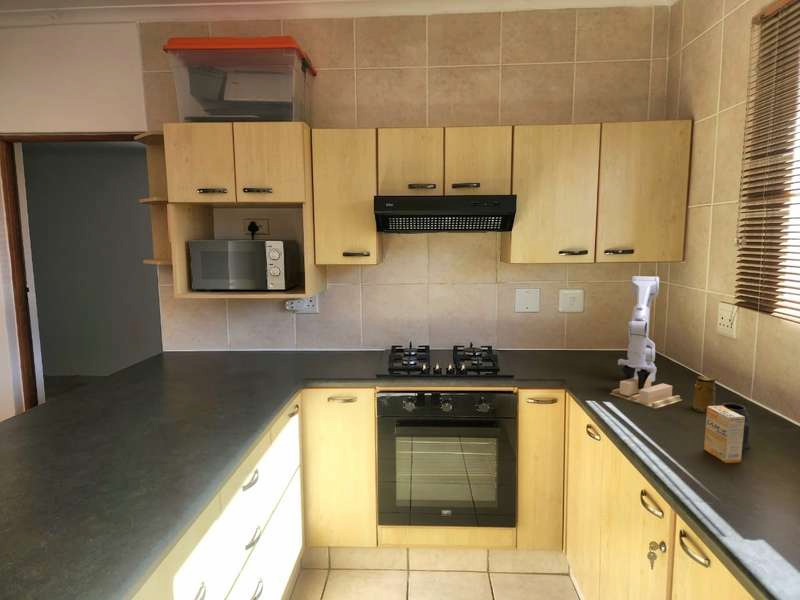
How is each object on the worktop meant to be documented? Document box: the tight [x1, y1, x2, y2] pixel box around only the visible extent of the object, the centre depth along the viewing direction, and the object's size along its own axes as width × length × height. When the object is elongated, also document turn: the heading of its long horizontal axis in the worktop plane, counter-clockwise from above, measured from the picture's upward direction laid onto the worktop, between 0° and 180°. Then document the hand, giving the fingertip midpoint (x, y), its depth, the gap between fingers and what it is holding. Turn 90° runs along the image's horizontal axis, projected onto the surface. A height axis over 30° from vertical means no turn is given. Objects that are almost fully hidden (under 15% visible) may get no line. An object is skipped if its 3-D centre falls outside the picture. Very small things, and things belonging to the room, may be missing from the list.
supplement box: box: [703, 405, 745, 464], centre depth 129 cm, size 8×5×13 cm, turn 5°
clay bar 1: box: [619, 377, 652, 396], centre depth 178 cm, size 14×4×4 cm, turn 121°
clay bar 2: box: [639, 383, 673, 405], centre depth 172 cm, size 14×4×4 cm, turn 119°
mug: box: [721, 402, 751, 451], centre depth 135 cm, size 12×9×11 cm
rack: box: [609, 387, 682, 409], centre depth 175 cm, size 16×18×2 cm
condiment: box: [692, 375, 716, 414], centre depth 160 cm, size 7×8×12 cm
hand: (635, 387), depth 178 cm, fingers closed on clay bar 1, 4 cm apart
